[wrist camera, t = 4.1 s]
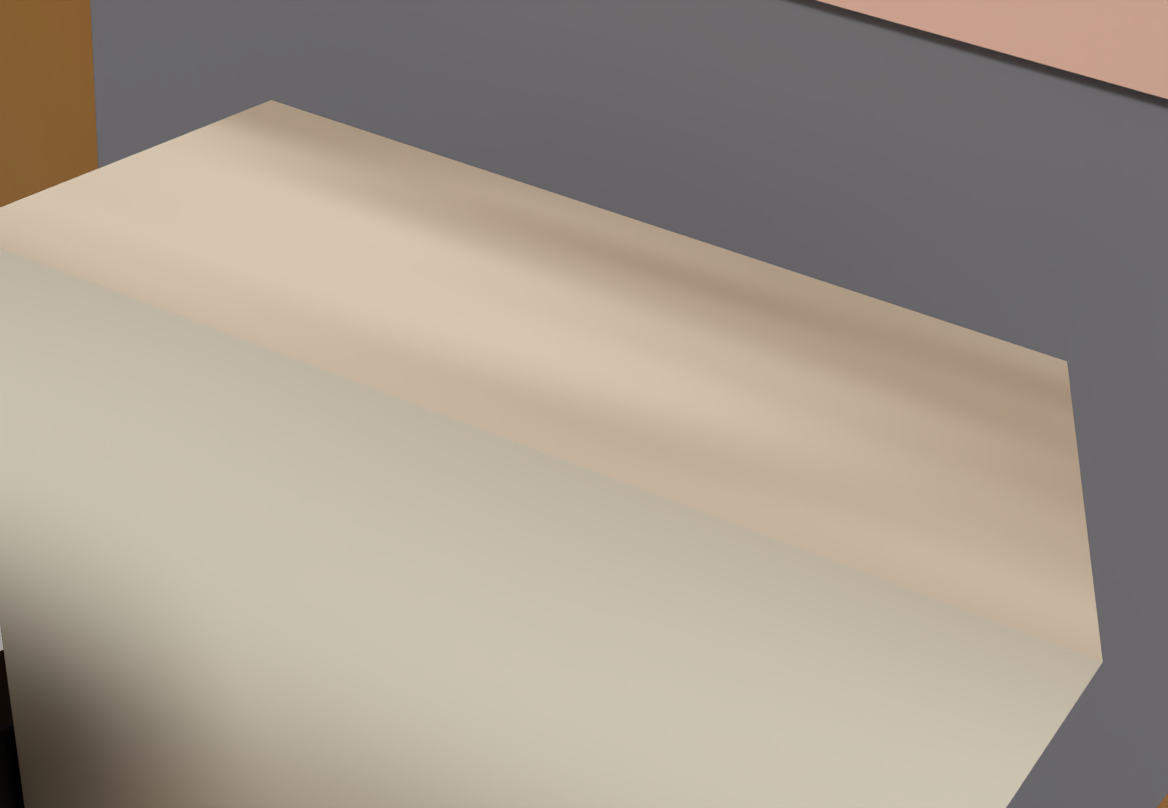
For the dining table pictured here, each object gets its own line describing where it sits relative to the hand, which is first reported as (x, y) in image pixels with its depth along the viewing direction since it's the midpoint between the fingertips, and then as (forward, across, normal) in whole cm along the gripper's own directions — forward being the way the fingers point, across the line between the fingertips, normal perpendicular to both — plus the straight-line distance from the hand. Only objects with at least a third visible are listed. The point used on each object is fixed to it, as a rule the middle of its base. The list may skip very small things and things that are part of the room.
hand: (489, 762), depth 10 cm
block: (+1, 0, 0) cm, 1 cm away
